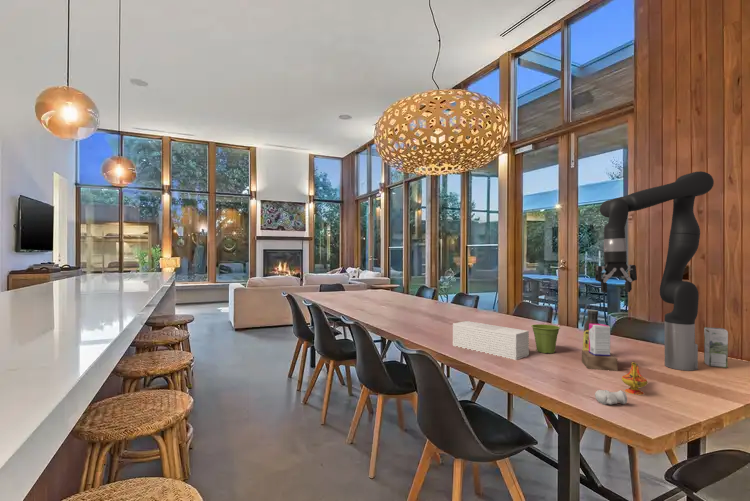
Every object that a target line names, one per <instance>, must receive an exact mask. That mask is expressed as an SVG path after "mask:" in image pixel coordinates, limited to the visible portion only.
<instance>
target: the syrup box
mask: <svg viewBox="0 0 750 501" xmlns="http://www.w3.org/2000/svg"><path fill="white" fill-rule="evenodd" d="M703 330H704V332H703V334H704V335H703V336H704V339H703V341H704V342H703V344H704V346H703V348H704V349H703V350H704V351H703V353H704V354H703V358H704V359H703V362H704V363H705V365H707V366H708V367H714V368H723V369H724V368H725V369H726V368H728V360H729V358H728V357H729V355H728V354H729V348H728V347H729V344H728V343H729V331H728V330H727V329H725V328H723V327H706V326H705V327H704V329H703Z"/></svg>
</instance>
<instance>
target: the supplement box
mask: <svg viewBox="0 0 750 501" xmlns="http://www.w3.org/2000/svg"><path fill="white" fill-rule="evenodd" d="M589 353H591V354H593V355H594V356H610V353H611V326H610V325H607V324H604V323H599V324H589Z"/></svg>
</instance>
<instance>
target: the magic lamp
mask: <svg viewBox="0 0 750 501" xmlns="http://www.w3.org/2000/svg"><path fill="white" fill-rule="evenodd" d="M621 380H622V383H623V384H625V385H626V386H628V387H629V388H625V389H624V392H625V393H628V394H630V395H636V396H642V395H645V392H643V391H642V390H640V388H644V387H646V386H647V385H648V379H646V378H645V377H644V376H643V375H642V374H641V372H640V368H639V364H638V363H636V362H635V361H633V362H631V367H630V370H629V372H628V373H627V374H624V375H622V376H621Z"/></svg>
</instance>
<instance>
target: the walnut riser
mask: <svg viewBox="0 0 750 501" xmlns="http://www.w3.org/2000/svg"><path fill="white" fill-rule="evenodd" d="M581 363H582V364H583V365H584V366H585V368H586V369H587V370H598V371H608V370H609V371H608V372H618V358H617V357H616V356H615V355H614V354H613V353H612V352H610V356H594V355H593V354H591V353H589V351H586V350H583V349H581Z"/></svg>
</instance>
